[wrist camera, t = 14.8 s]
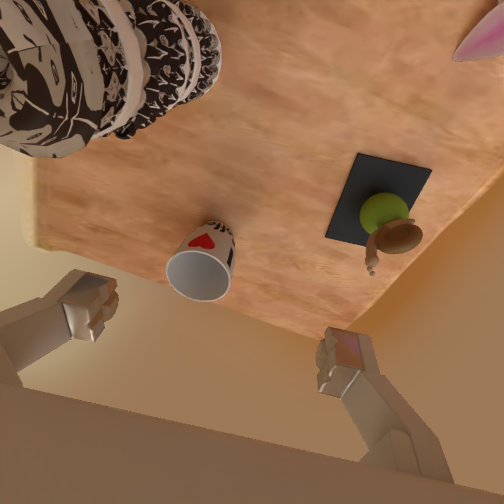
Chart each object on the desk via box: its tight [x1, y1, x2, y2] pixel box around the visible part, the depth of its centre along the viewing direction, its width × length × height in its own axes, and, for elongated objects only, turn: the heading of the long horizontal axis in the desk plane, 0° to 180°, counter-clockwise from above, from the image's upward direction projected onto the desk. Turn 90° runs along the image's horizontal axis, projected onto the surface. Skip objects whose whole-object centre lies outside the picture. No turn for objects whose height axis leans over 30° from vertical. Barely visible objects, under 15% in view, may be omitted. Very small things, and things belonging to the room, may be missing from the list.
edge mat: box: [325, 153, 432, 249], centre depth 38 cm, size 12×9×1 cm
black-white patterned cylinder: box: [0, 0, 222, 158], centre depth 21 cm, size 9×9×25 cm
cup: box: [166, 221, 235, 302], centre depth 40 cm, size 8×8×10 cm
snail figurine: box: [360, 193, 423, 276], centre depth 33 cm, size 5×6×12 cm
